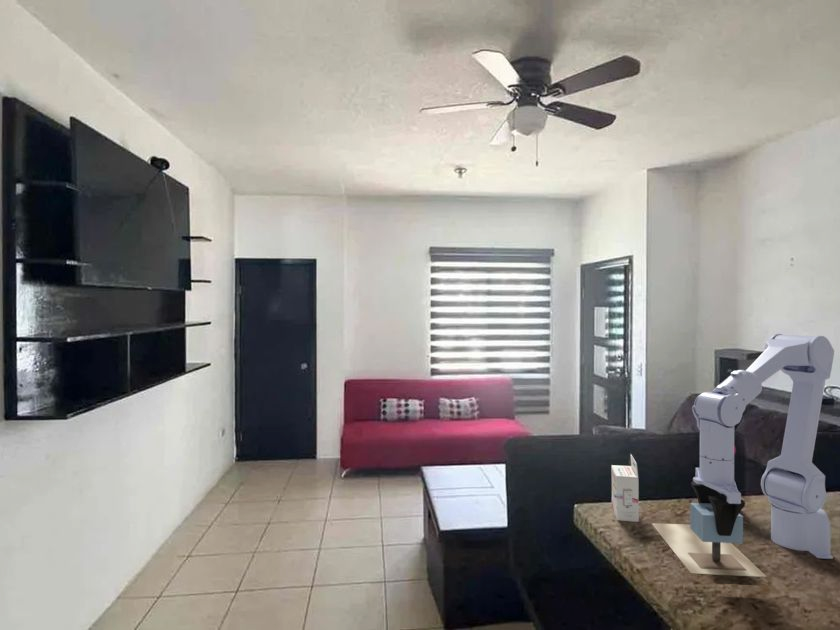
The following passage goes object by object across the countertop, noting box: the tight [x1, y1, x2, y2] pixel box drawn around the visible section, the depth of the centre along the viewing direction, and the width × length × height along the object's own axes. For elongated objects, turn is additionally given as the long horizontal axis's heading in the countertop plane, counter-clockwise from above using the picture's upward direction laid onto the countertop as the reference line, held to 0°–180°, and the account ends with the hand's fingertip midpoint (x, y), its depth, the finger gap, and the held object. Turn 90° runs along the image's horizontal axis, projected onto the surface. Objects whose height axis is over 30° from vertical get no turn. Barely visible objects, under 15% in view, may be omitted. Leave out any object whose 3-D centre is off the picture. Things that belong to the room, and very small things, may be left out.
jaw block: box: [689, 502, 744, 544], centre depth 100 cm, size 7×6×5 cm
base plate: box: [651, 522, 768, 578], centre depth 106 cm, size 13×22×6 cm, turn 174°
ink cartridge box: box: [610, 453, 640, 523], centre depth 123 cm, size 9×5×15 cm, turn 168°
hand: (716, 527), depth 100 cm, fingers closed on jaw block, 6 cm apart
